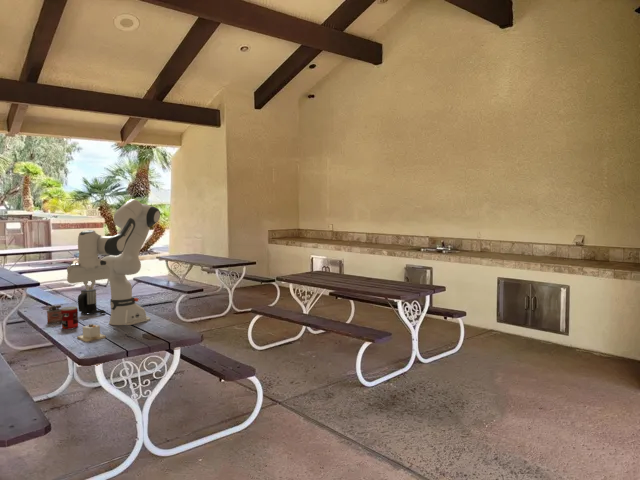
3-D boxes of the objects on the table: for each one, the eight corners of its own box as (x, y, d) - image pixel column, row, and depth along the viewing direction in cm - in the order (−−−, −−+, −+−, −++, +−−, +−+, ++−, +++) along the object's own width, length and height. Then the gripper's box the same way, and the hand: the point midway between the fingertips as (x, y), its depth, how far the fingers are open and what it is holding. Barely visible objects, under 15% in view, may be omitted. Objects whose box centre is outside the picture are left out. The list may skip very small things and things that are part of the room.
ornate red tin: (47, 324, 270) (46, 307, 269) (46, 323, 273) (46, 306, 272) (63, 322, 275) (62, 305, 274) (62, 321, 277) (61, 304, 277)
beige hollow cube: (92, 333, 245) (92, 323, 245) (100, 335, 242) (99, 324, 242) (83, 336, 240) (82, 325, 240) (90, 337, 237) (89, 327, 237)
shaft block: (97, 334, 248) (96, 321, 248) (106, 337, 242) (105, 324, 241) (77, 338, 241) (76, 324, 240) (85, 341, 234) (85, 327, 234)
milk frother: (83, 311, 303) (82, 288, 302) (110, 310, 306) (109, 287, 304) (76, 316, 289) (75, 292, 288) (104, 315, 292) (103, 291, 290)
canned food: (60, 327, 263) (59, 307, 262) (76, 324, 268) (75, 305, 267) (63, 330, 257) (62, 310, 256) (79, 327, 262) (79, 308, 262)
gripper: (69, 265, 229) (70, 293, 230) (111, 261, 244) (112, 287, 245) (64, 264, 233) (65, 292, 234) (105, 260, 248) (106, 286, 249)
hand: (89, 289), depth 240 cm, fingers closed
